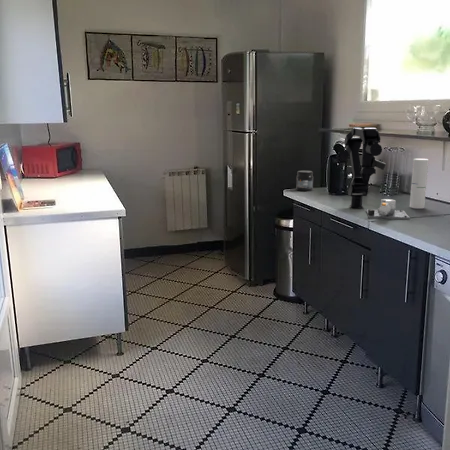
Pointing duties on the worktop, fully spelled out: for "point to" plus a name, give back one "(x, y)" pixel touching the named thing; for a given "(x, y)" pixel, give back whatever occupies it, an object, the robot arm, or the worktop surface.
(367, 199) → the worktop surface
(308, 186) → the supplement container
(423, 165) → the cylindrical container
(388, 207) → the collar
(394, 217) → the flange
